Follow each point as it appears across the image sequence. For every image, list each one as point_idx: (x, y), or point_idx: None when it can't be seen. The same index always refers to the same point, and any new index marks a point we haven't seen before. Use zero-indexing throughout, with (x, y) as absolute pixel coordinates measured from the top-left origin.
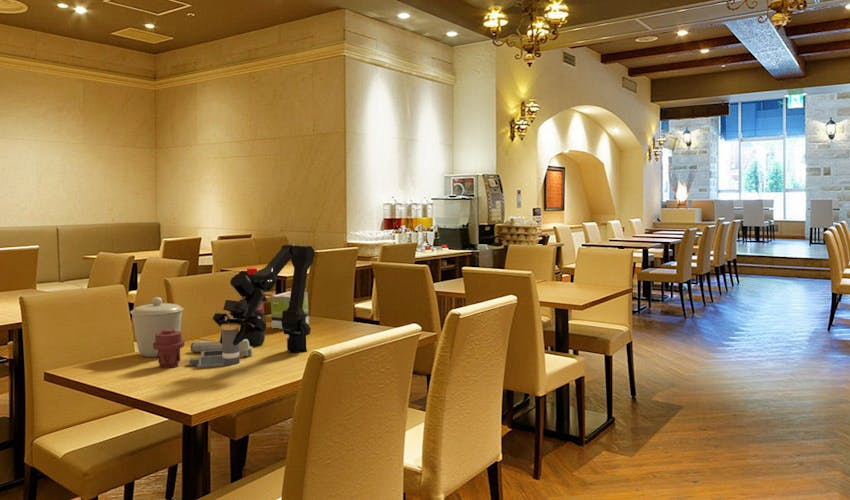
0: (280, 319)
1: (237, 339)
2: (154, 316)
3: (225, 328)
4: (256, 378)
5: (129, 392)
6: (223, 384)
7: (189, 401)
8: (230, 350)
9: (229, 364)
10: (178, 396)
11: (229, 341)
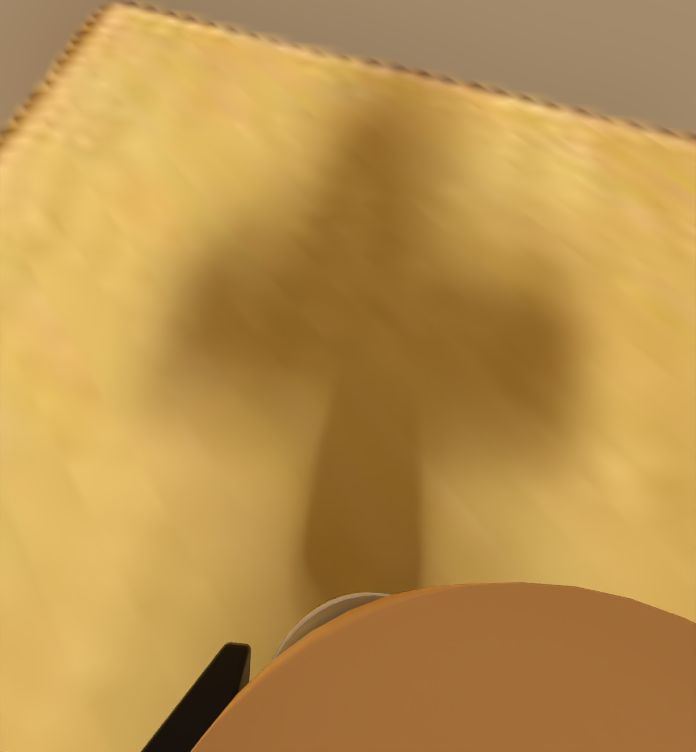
0: None
1: (155, 743)
2: None
3: (445, 585)
4: (41, 595)
5: (604, 140)
6: (226, 370)
7: (227, 102)
8: (309, 620)
9: (324, 602)
10: (331, 142)
11: (317, 623)
